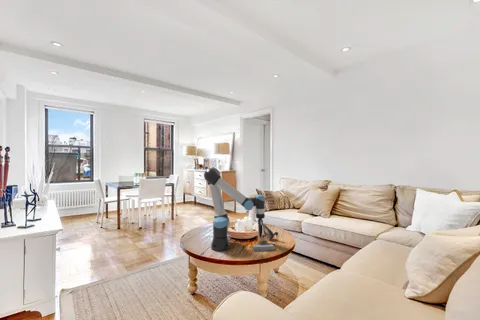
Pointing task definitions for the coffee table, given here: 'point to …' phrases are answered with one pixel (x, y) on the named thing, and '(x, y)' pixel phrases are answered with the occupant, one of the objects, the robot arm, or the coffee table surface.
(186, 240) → the coffee table surface
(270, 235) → the decorative duck model
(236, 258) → the coffee table surface
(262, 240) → the walnut block
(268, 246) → the board
